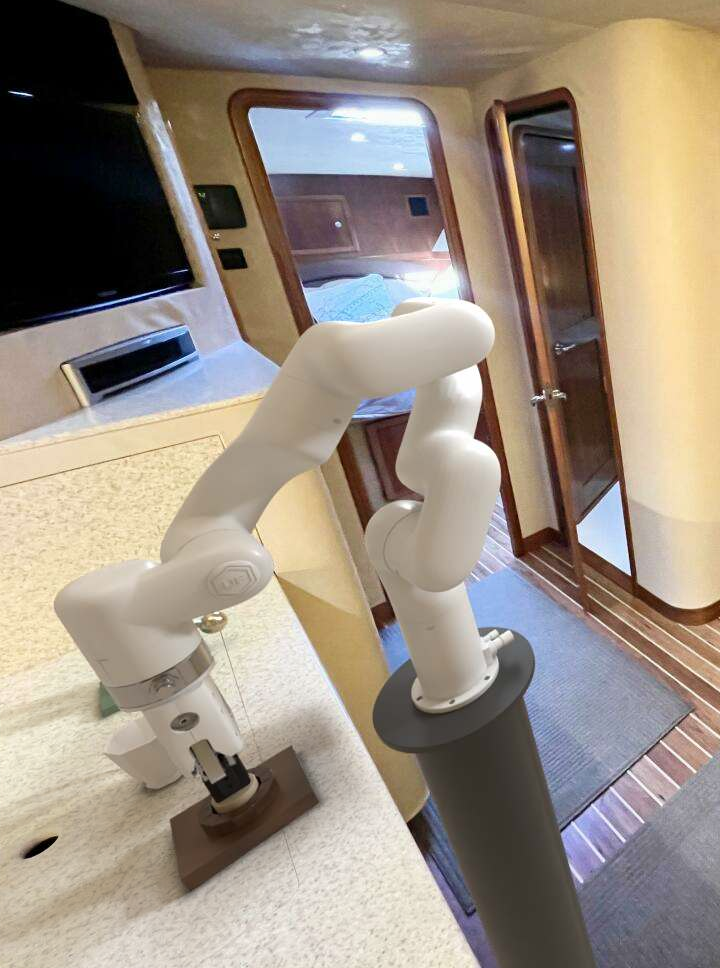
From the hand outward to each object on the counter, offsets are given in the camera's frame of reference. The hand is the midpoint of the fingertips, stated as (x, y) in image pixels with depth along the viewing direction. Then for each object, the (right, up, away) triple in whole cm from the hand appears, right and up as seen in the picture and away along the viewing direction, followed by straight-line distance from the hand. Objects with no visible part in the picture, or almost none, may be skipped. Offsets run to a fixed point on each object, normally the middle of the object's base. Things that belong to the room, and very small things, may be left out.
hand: (233, 788), depth 63 cm
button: (0, -2, +1) cm, 2 cm away
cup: (-17, -3, +9) cm, 19 cm away
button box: (0, -5, +2) cm, 5 cm away
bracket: (-35, +2, +24) cm, 43 cm away
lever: (-33, +8, +25) cm, 42 cm away
